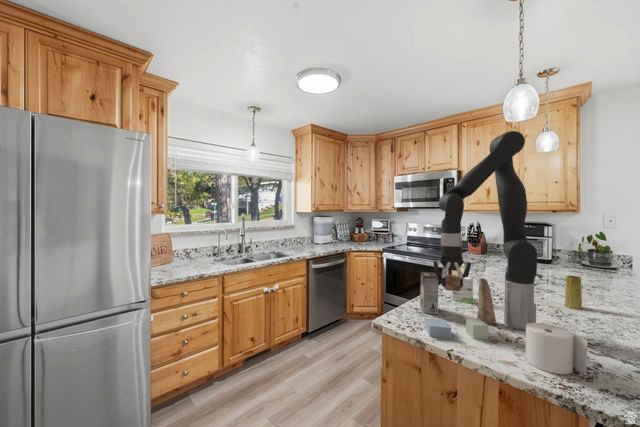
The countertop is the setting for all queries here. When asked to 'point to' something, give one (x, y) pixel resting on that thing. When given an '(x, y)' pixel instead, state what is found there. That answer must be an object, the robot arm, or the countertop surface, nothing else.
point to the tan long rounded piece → (485, 303)
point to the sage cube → (476, 329)
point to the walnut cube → (452, 283)
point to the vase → (573, 292)
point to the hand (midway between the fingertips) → (451, 287)
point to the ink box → (464, 291)
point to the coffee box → (429, 292)
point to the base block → (438, 328)
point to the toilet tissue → (555, 349)
